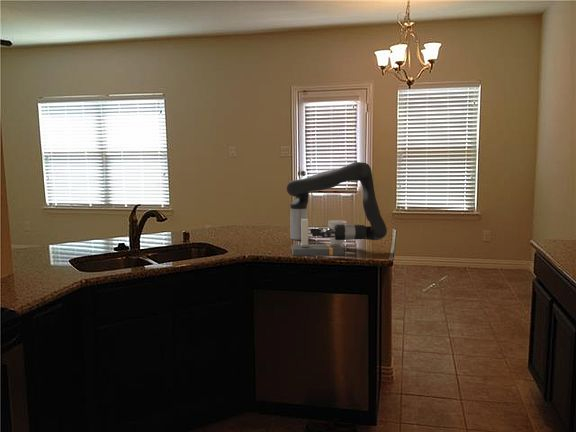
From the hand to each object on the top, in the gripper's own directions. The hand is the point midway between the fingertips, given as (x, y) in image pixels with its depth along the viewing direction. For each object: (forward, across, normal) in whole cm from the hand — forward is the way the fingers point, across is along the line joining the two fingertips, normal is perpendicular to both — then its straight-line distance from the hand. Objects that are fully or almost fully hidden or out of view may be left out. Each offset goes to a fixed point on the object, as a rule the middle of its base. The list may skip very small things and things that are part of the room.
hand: (311, 232), depth 228 cm
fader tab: (+3, 0, +7) cm, 7 cm away
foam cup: (-15, -15, +10) cm, 23 cm away
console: (-3, 0, +10) cm, 10 cm away
